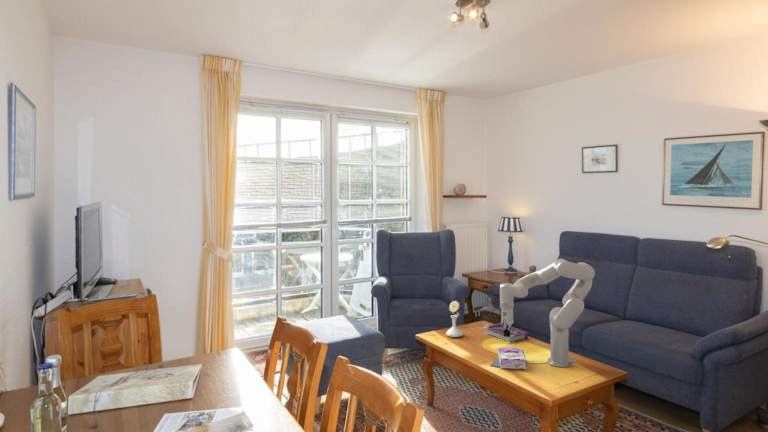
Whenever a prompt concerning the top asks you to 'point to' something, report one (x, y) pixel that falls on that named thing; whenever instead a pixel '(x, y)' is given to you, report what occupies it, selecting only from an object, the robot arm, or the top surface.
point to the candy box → (512, 358)
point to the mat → (497, 363)
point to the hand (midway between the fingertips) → (507, 336)
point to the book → (498, 332)
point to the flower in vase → (454, 321)
